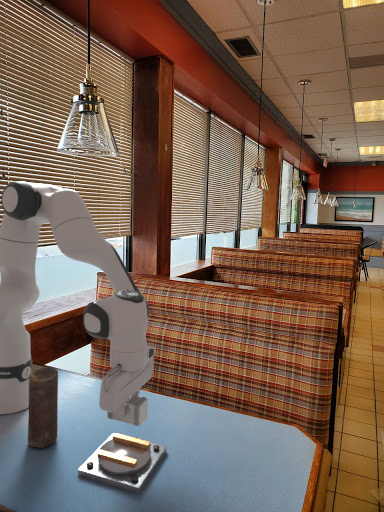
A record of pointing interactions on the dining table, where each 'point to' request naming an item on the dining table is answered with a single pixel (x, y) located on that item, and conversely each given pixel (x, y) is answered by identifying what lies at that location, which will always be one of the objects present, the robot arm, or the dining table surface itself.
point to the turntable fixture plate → (123, 462)
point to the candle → (43, 407)
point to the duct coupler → (133, 411)
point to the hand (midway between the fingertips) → (127, 410)
